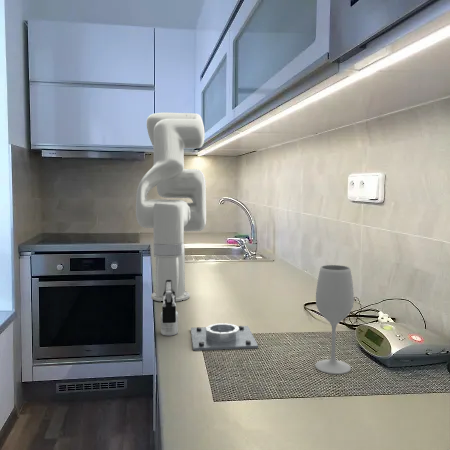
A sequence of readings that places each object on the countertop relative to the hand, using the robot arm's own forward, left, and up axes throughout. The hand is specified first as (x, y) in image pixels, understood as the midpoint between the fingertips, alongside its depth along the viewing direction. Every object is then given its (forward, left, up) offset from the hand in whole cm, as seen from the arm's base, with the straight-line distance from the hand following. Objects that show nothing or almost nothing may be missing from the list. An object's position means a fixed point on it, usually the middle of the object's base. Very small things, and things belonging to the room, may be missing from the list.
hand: (169, 317), depth 118 cm
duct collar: (+5, +13, -4) cm, 15 cm away
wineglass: (+26, +34, -4) cm, 43 cm away
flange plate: (+5, +13, -4) cm, 15 cm away
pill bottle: (0, 0, -4) cm, 4 cm away
